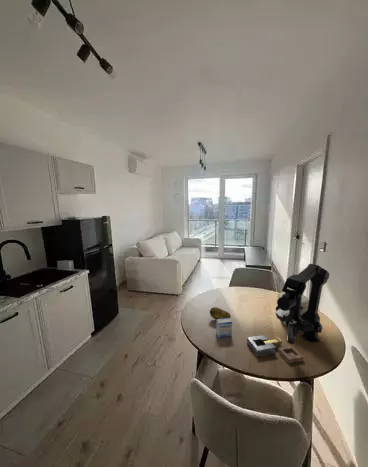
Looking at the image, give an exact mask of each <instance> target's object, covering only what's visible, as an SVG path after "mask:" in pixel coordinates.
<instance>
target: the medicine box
mask: <svg viewBox="0 0 368 467" xmlns="http://www.w3.org/2000/svg"><path fill="white" fill-rule="evenodd" d="M215 321H216V323H215V324H216V327H215V329H216V330H215V333H216V335H217V337H218V338H224V337H230V336H232V334H233V321H232V320H231V317H230V318H225V319H217V320H216V319H215Z"/></svg>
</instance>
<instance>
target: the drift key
mask: <svg viewBox="0 0 368 467" xmlns="http://www.w3.org/2000/svg"><path fill="white" fill-rule="evenodd" d="M266 343H272V344H273V345H274V346H275V347H276V348H281V347H283V340H282V339H281V338H280V337H278V336H276V337H275V339H268V341H263V345H265V344H266Z"/></svg>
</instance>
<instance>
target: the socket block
mask: <svg viewBox="0 0 368 467" xmlns="http://www.w3.org/2000/svg"><path fill="white" fill-rule="evenodd" d="M268 340H269V339H268V337H267V336H266V335H265V334H261V335H255V336H248V337H246V344H247V345H248V347H249V348H250V350H251V351H252V352H253V354H254V355H255V356H256V357H257V358H258V357H264V356H270V355H274V354H276V350H277V347H275V346H274V345H273V344H272V343H266V344H265V345H263V341H268Z"/></svg>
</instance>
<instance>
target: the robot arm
mask: <svg viewBox="0 0 368 467" xmlns="http://www.w3.org/2000/svg"><path fill="white" fill-rule="evenodd" d="M329 279H330V272H329V271H328V270H327V269H325V268H323V267H321V266H320V265H319V264H314V263H309V264H308V265H307V266H306V267H305V268H304V269H303V270H302V271H300V272H299V273H297V274H292V275H290V276H288V277H287V278H286V280H285V283H284V285H283V287H282V290H281V292H285V294H283V295H282V297H281V298H279V299H278V298H277V300H276V304H277V306H276V307H275V312H274V313H275V316H276V319H278V320H279V321H280V322H281V323H282V322H286V325H285V326H286V328H287V331H288V322H289V321H290V320H293V321H295V324H291V325H292V326H293V335H294V336H296V337H297V335H298V334H299V333H300V332H301V333H303V334H301V335H300V336H301V337H302V338H304V339H305V340H306V341H307V342H308V341H309V342H308V343H310V342H312V343H316V341H318V342H320V341H321V340H320V338H319V337H318V336H319V333H320V334H321V333H322V331H323V325H322V323H321V317H320V315H319V312H318V311H319V307H320V301H321V297H322V290H323V287H324V286H325V284H326V283H327V282H328V280H329ZM309 281H310V282H311V289H310V293H309V297H308V298H309V304H308V309H307V311H306V312H305V313H303V315H301V314H300V312H301V309H303V307H302V306H301V300H302V295H304V293H305V290H306V288H307V284H308V282H309ZM301 317H302V318H301ZM300 318H301V319H300Z"/></svg>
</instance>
